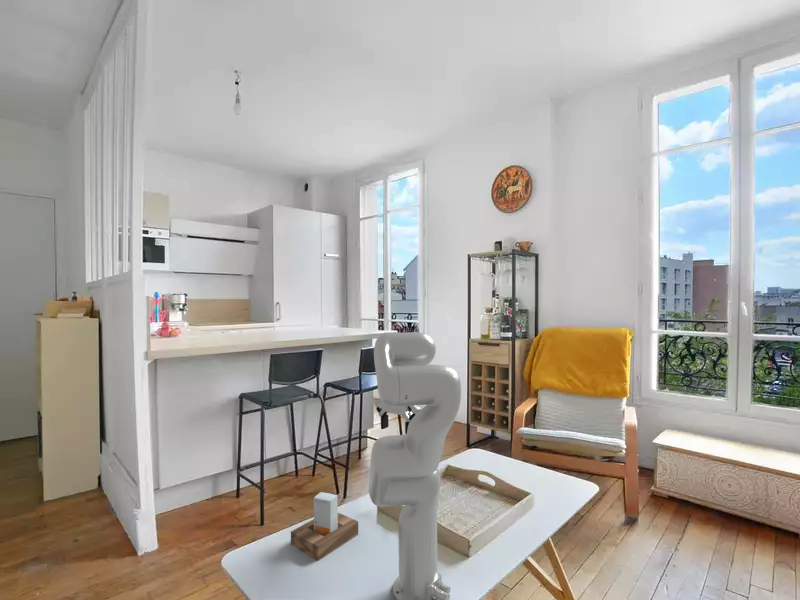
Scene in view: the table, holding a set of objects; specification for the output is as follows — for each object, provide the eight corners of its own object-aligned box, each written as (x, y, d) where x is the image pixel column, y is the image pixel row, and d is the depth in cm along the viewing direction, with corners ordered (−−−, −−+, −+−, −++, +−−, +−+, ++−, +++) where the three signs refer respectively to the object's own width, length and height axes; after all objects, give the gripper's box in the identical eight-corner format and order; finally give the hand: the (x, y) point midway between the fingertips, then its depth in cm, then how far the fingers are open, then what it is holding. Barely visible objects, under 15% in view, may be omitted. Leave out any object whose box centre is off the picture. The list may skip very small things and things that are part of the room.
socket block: (358, 534, 128) (358, 521, 128) (318, 560, 115) (317, 546, 115) (331, 521, 135) (331, 509, 135) (290, 545, 123) (290, 531, 123)
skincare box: (313, 537, 124) (312, 497, 124) (321, 530, 128) (320, 491, 128) (330, 542, 122) (330, 501, 122) (338, 534, 126) (338, 494, 126)
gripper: (425, 378, 131) (425, 432, 131) (382, 372, 141) (382, 423, 141) (411, 382, 125) (412, 439, 125) (367, 376, 135) (368, 429, 135)
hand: (396, 430), depth 133 cm, fingers open, 9 cm apart
